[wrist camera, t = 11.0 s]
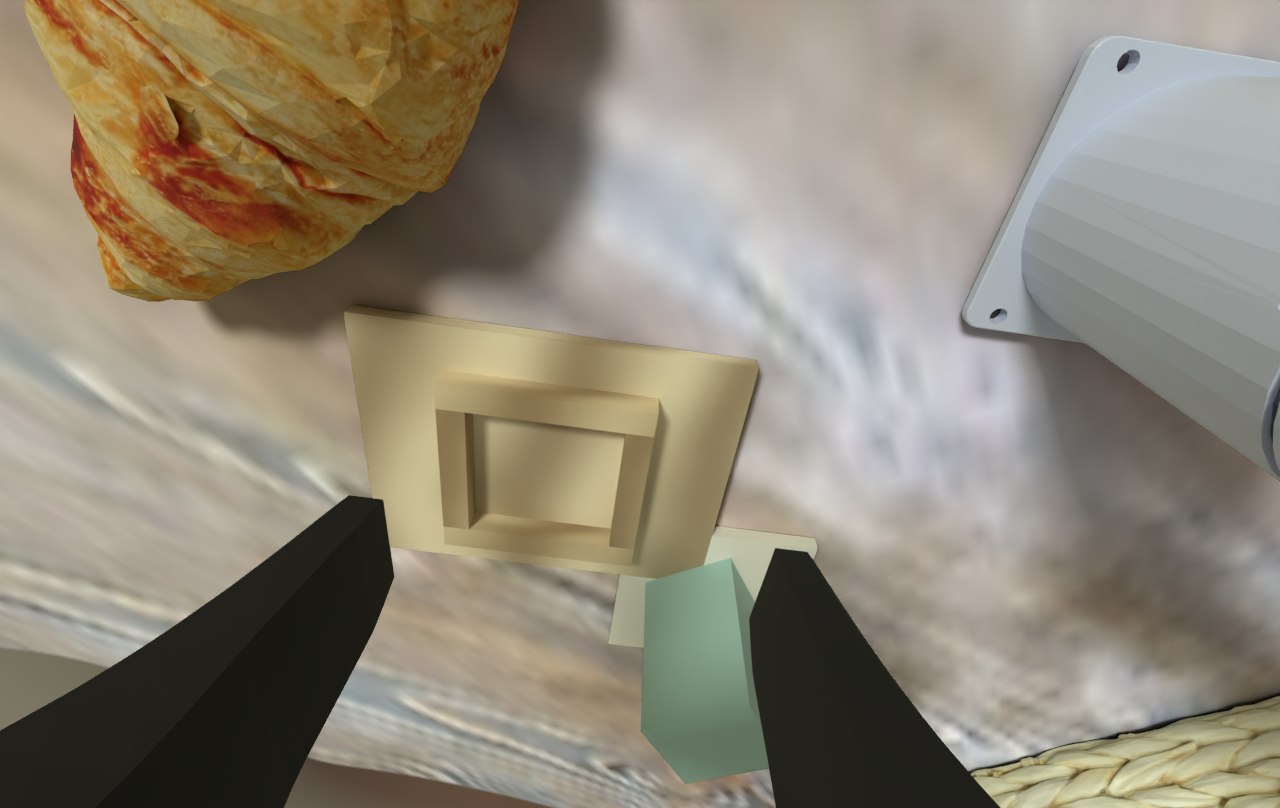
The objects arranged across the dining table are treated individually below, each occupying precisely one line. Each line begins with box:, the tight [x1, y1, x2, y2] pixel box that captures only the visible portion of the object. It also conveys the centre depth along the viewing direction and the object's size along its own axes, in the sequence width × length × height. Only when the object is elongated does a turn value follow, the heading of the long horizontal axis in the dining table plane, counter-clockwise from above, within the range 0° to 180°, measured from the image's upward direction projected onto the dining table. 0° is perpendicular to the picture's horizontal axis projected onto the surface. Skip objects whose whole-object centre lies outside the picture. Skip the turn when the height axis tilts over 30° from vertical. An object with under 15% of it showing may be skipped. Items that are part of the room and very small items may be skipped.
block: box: [641, 558, 769, 784], centre depth 23 cm, size 4×4×6 cm
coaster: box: [608, 526, 818, 648], centre depth 26 cm, size 8×8×1 cm
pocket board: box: [343, 305, 759, 579], centre depth 22 cm, size 14×11×2 cm
